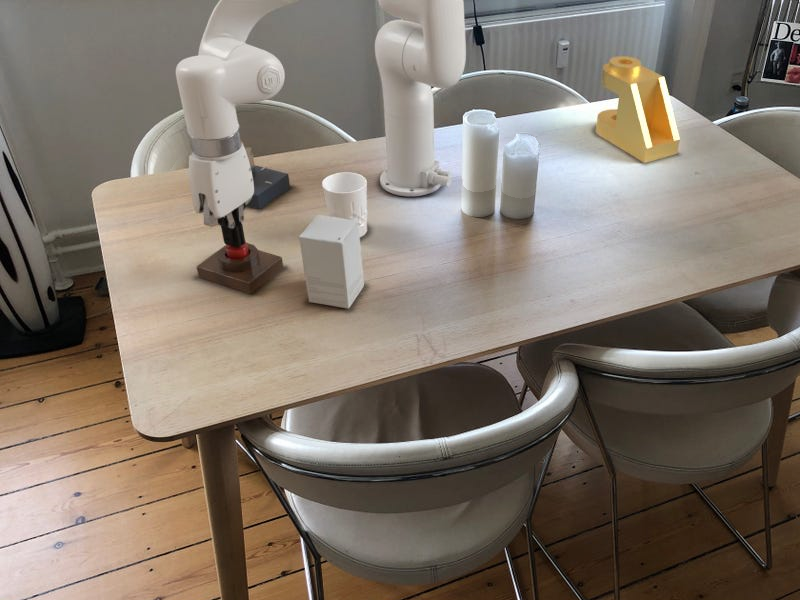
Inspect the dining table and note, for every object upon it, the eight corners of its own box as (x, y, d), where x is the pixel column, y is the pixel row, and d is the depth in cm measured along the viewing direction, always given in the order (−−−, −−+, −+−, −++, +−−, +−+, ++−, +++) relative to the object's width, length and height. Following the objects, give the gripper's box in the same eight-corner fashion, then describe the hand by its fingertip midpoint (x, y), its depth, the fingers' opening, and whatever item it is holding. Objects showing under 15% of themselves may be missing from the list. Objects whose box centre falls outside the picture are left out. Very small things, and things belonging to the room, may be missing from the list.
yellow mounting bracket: (587, 128, 191) (595, 58, 181) (619, 120, 195) (628, 51, 184) (644, 163, 178) (656, 90, 168) (676, 153, 182) (690, 81, 171)
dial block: (290, 187, 167) (288, 172, 165) (259, 209, 159) (256, 194, 157) (246, 175, 170) (243, 161, 168) (213, 196, 163) (210, 182, 161)
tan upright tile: (248, 170, 165) (244, 146, 162) (255, 170, 165) (251, 146, 162) (244, 185, 160) (239, 160, 157) (251, 185, 161) (247, 160, 157)
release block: (283, 267, 144) (280, 247, 142) (251, 294, 138) (247, 274, 135) (232, 251, 148) (228, 232, 145) (198, 277, 141) (194, 257, 139)
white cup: (349, 216, 158) (345, 167, 152) (379, 230, 154) (375, 181, 148) (318, 232, 153) (312, 183, 147) (348, 247, 150) (343, 197, 143)
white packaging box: (365, 285, 140) (360, 219, 132) (348, 310, 135) (341, 243, 127) (325, 278, 142) (317, 212, 134) (306, 302, 136) (297, 235, 128)
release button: (253, 251, 141) (251, 243, 140) (240, 262, 139) (238, 253, 138) (236, 246, 142) (234, 238, 141) (222, 256, 140) (220, 248, 139)
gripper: (227, 118, 134) (245, 219, 145) (162, 155, 123) (187, 259, 135) (265, 128, 131) (280, 229, 143) (202, 165, 121) (224, 271, 133)
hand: (235, 243), depth 139 cm, fingers closed
